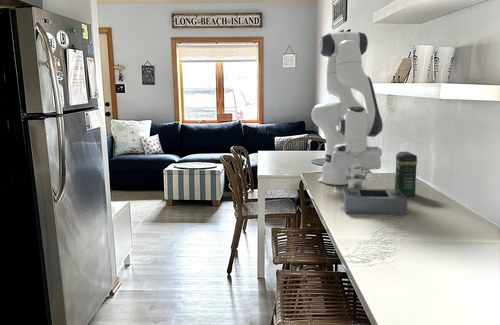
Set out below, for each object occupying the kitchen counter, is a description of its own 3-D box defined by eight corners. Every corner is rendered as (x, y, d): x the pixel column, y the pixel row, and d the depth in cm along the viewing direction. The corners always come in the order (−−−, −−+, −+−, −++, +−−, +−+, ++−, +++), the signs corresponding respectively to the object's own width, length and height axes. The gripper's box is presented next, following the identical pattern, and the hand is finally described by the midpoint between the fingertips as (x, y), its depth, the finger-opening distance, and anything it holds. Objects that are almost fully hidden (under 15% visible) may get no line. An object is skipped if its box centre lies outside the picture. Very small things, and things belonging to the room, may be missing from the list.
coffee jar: (417, 196, 179) (419, 153, 176) (398, 197, 180) (400, 154, 177) (410, 191, 189) (412, 150, 186) (392, 191, 190) (394, 150, 186)
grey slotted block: (343, 202, 174) (343, 187, 173) (399, 203, 170) (399, 188, 169) (345, 213, 159) (345, 197, 158) (406, 214, 156) (407, 198, 155)
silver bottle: (356, 202, 174) (358, 154, 170) (343, 199, 179) (344, 152, 175) (366, 199, 178) (367, 152, 174) (353, 196, 183) (354, 150, 179)
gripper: (380, 145, 176) (380, 177, 178) (330, 145, 179) (330, 177, 182) (383, 147, 170) (382, 181, 172) (331, 147, 173) (330, 180, 176)
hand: (355, 179), depth 177 cm, fingers closed on silver bottle, 6 cm apart
